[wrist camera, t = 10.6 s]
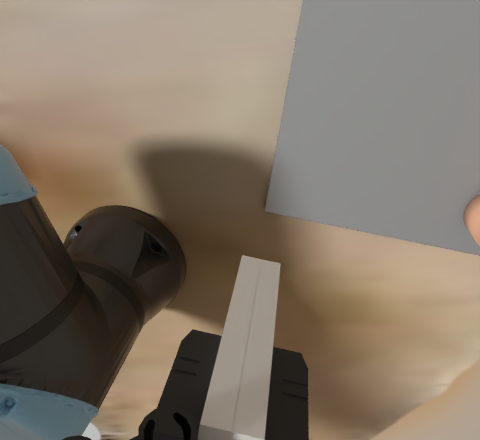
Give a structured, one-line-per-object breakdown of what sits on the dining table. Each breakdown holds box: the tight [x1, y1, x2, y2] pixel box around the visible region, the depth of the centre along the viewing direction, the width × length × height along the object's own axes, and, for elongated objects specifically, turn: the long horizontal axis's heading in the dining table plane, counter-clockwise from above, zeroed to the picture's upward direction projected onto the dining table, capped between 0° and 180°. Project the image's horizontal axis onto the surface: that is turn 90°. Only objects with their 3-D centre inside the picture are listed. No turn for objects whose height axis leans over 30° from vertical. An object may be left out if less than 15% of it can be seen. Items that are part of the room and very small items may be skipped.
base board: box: [264, 0, 480, 256], centre depth 31 cm, size 26×26×1 cm
